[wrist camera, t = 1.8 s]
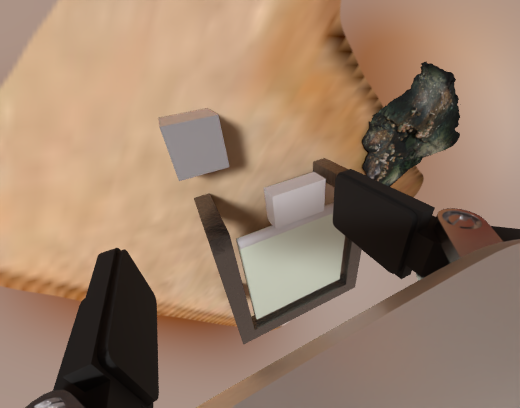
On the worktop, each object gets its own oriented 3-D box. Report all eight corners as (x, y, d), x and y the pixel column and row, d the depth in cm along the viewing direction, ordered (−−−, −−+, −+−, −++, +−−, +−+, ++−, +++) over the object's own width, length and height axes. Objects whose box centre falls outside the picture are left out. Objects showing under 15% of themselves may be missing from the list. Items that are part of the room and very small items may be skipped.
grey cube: (158, 117, 22) (159, 126, 18) (207, 107, 23) (218, 114, 19) (174, 163, 25) (179, 180, 21) (217, 153, 26) (229, 167, 22)
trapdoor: (225, 200, 21) (231, 210, 20) (344, 162, 25) (357, 168, 23) (252, 310, 32) (258, 322, 30) (333, 272, 36) (341, 281, 34)
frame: (193, 198, 28) (208, 241, 20) (324, 158, 33) (373, 181, 26) (226, 293, 38) (243, 344, 31) (321, 252, 43) (354, 287, 36)
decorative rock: (401, 206, 40) (361, 181, 31) (374, 189, 45) (333, 163, 36) (486, 108, 34) (469, 41, 25) (446, 100, 39) (418, 41, 30)
